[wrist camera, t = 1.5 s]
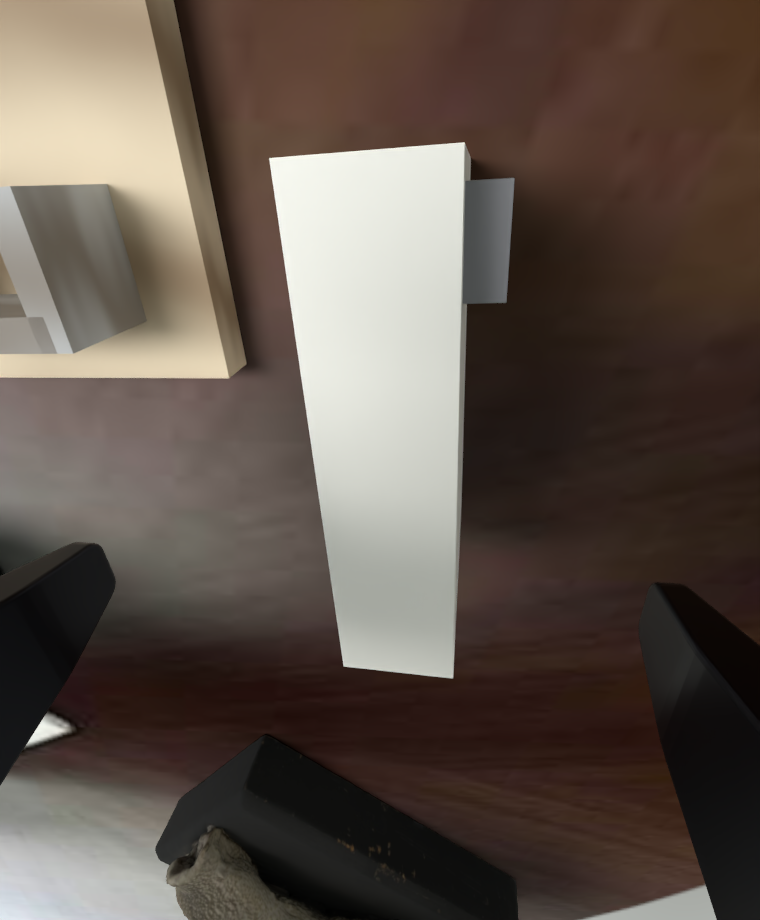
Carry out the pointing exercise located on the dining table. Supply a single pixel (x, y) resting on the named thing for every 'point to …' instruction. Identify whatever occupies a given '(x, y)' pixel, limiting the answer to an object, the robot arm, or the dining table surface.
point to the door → (390, 376)
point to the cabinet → (106, 199)
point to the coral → (316, 851)
